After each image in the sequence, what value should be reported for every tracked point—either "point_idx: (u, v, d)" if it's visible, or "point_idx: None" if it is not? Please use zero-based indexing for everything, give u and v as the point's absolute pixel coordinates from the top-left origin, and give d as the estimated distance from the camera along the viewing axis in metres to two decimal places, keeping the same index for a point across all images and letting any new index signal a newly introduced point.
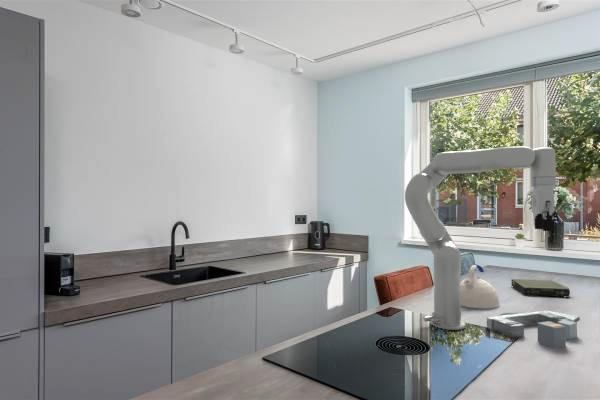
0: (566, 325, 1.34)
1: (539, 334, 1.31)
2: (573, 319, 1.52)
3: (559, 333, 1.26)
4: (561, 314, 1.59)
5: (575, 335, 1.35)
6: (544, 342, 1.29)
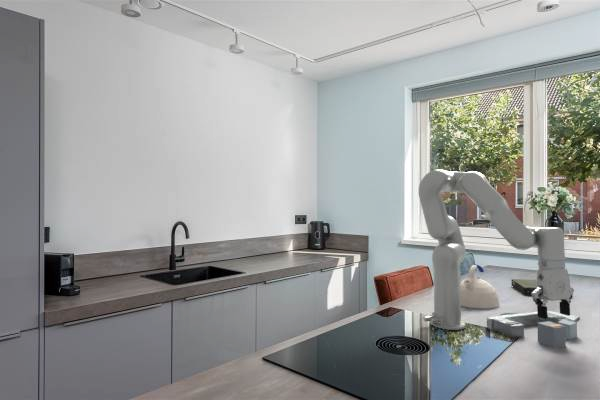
0: (566, 325, 1.34)
1: (539, 334, 1.31)
2: (574, 319, 1.52)
3: (559, 333, 1.26)
4: (561, 314, 1.59)
5: (575, 335, 1.35)
6: (544, 342, 1.29)
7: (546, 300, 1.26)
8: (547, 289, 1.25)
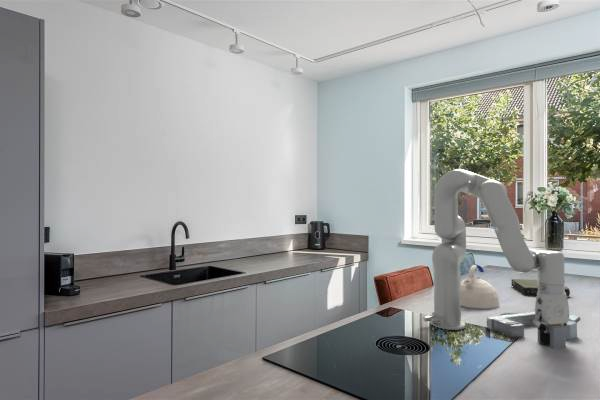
0: (566, 325, 1.34)
1: (539, 334, 1.31)
2: (574, 319, 1.52)
3: (559, 333, 1.26)
4: None
5: (575, 335, 1.35)
6: None
7: (547, 326, 1.27)
8: (546, 313, 1.26)
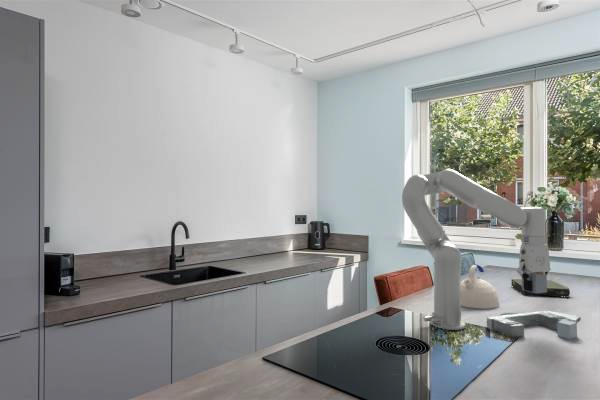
0: (566, 325, 1.34)
1: (523, 282, 1.44)
2: (575, 319, 1.52)
3: (541, 280, 1.39)
4: (562, 314, 1.59)
5: (575, 335, 1.35)
6: None
7: (530, 274, 1.40)
8: (528, 262, 1.39)
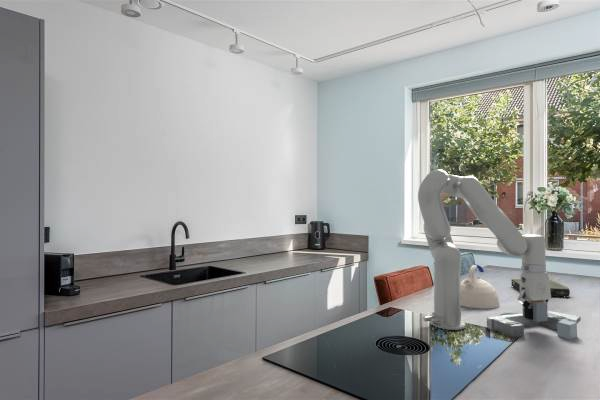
0: (566, 325, 1.34)
1: None
2: (575, 319, 1.52)
3: (541, 308, 1.39)
4: (562, 314, 1.59)
5: (575, 335, 1.35)
6: None
7: (531, 302, 1.40)
8: (529, 291, 1.39)
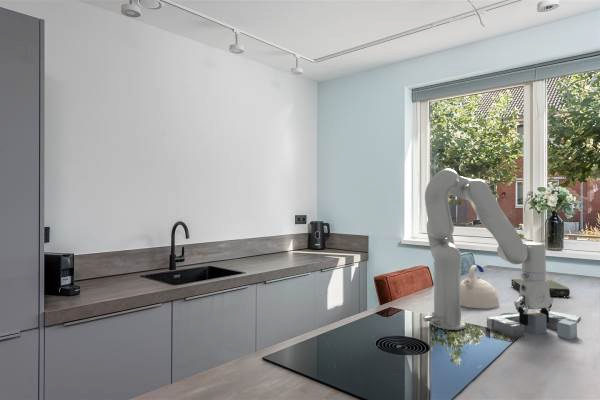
0: (566, 325, 1.34)
1: None
2: (576, 319, 1.52)
3: (540, 321, 1.39)
4: (562, 314, 1.59)
5: (575, 335, 1.35)
6: (527, 329, 1.42)
7: (527, 308, 1.40)
8: (528, 299, 1.39)
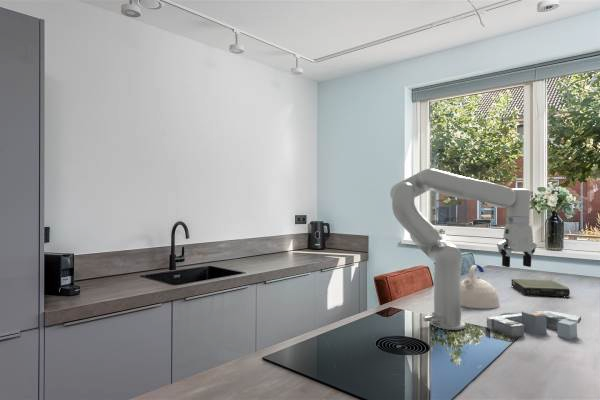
0: (566, 325, 1.34)
1: (523, 322, 1.44)
2: (577, 319, 1.52)
3: (540, 321, 1.39)
4: (563, 314, 1.59)
5: (575, 335, 1.35)
6: (527, 329, 1.42)
7: (510, 251, 1.45)
8: (511, 241, 1.44)
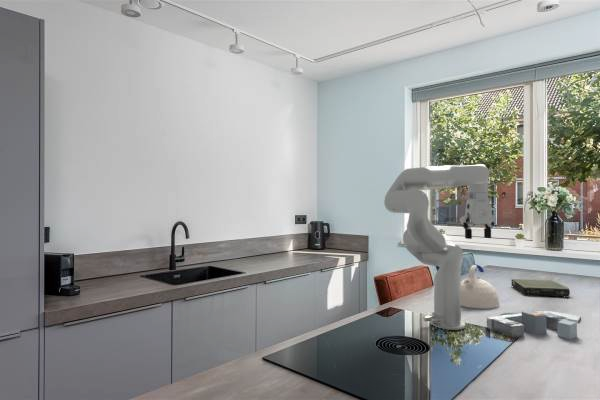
0: (566, 325, 1.34)
1: (523, 322, 1.44)
2: (577, 319, 1.52)
3: (540, 321, 1.39)
4: (563, 314, 1.59)
5: (575, 335, 1.35)
6: (527, 329, 1.42)
7: (471, 224, 1.58)
8: (472, 215, 1.57)
